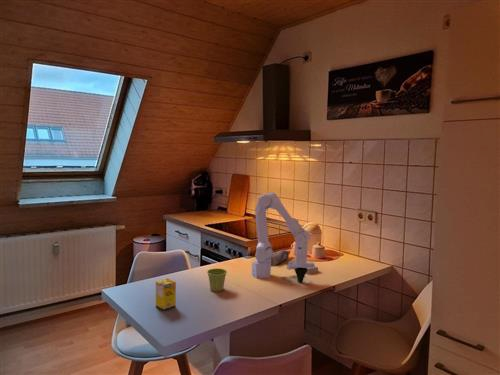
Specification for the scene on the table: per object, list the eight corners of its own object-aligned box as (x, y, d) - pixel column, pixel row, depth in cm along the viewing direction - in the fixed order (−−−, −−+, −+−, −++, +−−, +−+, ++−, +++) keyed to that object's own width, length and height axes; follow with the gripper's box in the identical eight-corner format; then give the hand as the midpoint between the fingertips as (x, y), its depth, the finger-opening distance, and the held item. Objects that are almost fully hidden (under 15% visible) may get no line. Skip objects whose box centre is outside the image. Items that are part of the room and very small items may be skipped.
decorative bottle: (275, 268, 212) (276, 256, 211) (264, 266, 216) (264, 254, 215) (295, 257, 234) (295, 247, 233) (284, 255, 238) (284, 245, 237)
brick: (319, 274, 204) (319, 266, 203) (307, 277, 199) (307, 268, 199) (298, 266, 218) (299, 258, 217) (287, 268, 213) (287, 260, 212)
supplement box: (175, 307, 157) (176, 281, 156) (163, 311, 152) (164, 285, 151) (167, 302, 161) (167, 277, 160) (155, 306, 156) (155, 281, 155)
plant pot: (208, 293, 172) (208, 275, 171) (205, 286, 181) (205, 268, 180) (228, 292, 175) (228, 274, 174) (224, 285, 184) (224, 267, 183)
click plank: (292, 287, 184) (292, 284, 183) (285, 282, 190) (285, 279, 190) (313, 284, 188) (313, 282, 188) (305, 279, 195) (305, 277, 194)
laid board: (284, 282, 190) (284, 279, 190) (280, 279, 194) (280, 276, 194) (306, 279, 195) (306, 277, 195) (302, 276, 199) (302, 274, 199)
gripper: (292, 258, 179) (291, 286, 181) (318, 256, 185) (317, 283, 186) (285, 254, 186) (284, 281, 187) (310, 252, 191) (309, 278, 193)
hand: (300, 282), depth 187 cm, fingers closed
